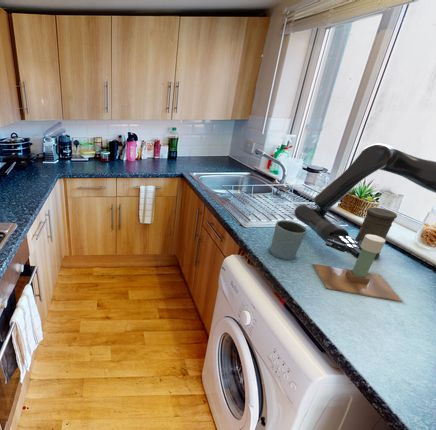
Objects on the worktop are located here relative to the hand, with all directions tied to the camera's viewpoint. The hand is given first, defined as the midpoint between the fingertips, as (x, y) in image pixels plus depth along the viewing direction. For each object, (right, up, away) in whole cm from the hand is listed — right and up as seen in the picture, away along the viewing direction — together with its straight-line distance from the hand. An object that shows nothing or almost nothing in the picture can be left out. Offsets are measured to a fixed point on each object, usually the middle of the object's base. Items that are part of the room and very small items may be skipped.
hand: (361, 256), depth 94 cm
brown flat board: (-2, -9, +1) cm, 9 cm away
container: (+17, -1, +18) cm, 25 cm away
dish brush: (0, -8, +2) cm, 8 cm away
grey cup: (-16, -1, +17) cm, 23 cm away
